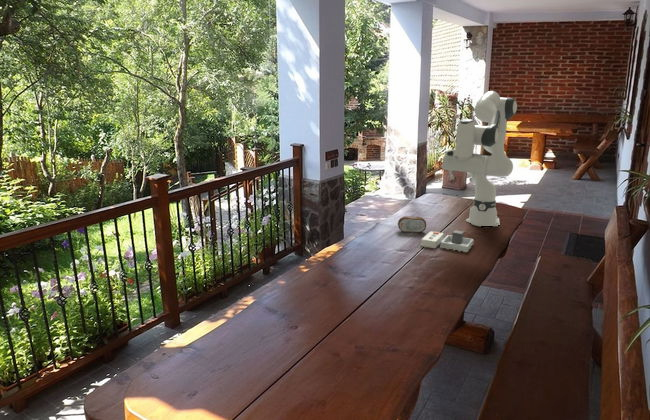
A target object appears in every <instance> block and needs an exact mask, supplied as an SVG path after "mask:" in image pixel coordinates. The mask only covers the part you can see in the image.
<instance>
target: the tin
mask: <svg viewBox="0 0 650 420" xmlns="http://www.w3.org/2000/svg"><path fill="white" fill-rule="evenodd" d="M397 226H398V228H399V230H400V231H401V232H403V233H413V234H414V233H417V234H420V233H423V232H424V231H426V229H427V221H426V219H425V218H423V217H420V216H408V215H407V216H406V215H405V216H401V217H400V218H399V219H398V222H397Z"/></svg>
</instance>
